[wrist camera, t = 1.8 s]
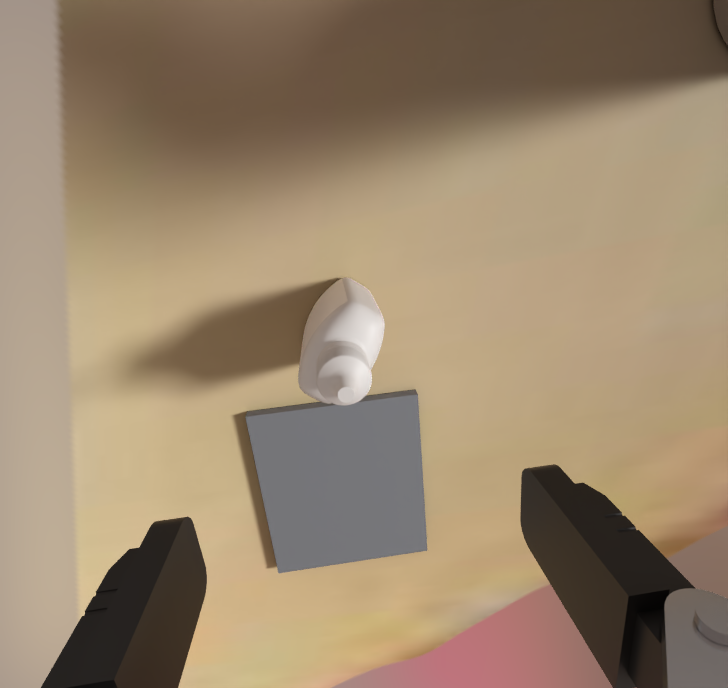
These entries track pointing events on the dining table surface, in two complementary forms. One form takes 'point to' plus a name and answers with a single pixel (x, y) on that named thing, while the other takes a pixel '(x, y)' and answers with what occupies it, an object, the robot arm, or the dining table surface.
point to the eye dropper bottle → (341, 344)
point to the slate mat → (341, 479)
